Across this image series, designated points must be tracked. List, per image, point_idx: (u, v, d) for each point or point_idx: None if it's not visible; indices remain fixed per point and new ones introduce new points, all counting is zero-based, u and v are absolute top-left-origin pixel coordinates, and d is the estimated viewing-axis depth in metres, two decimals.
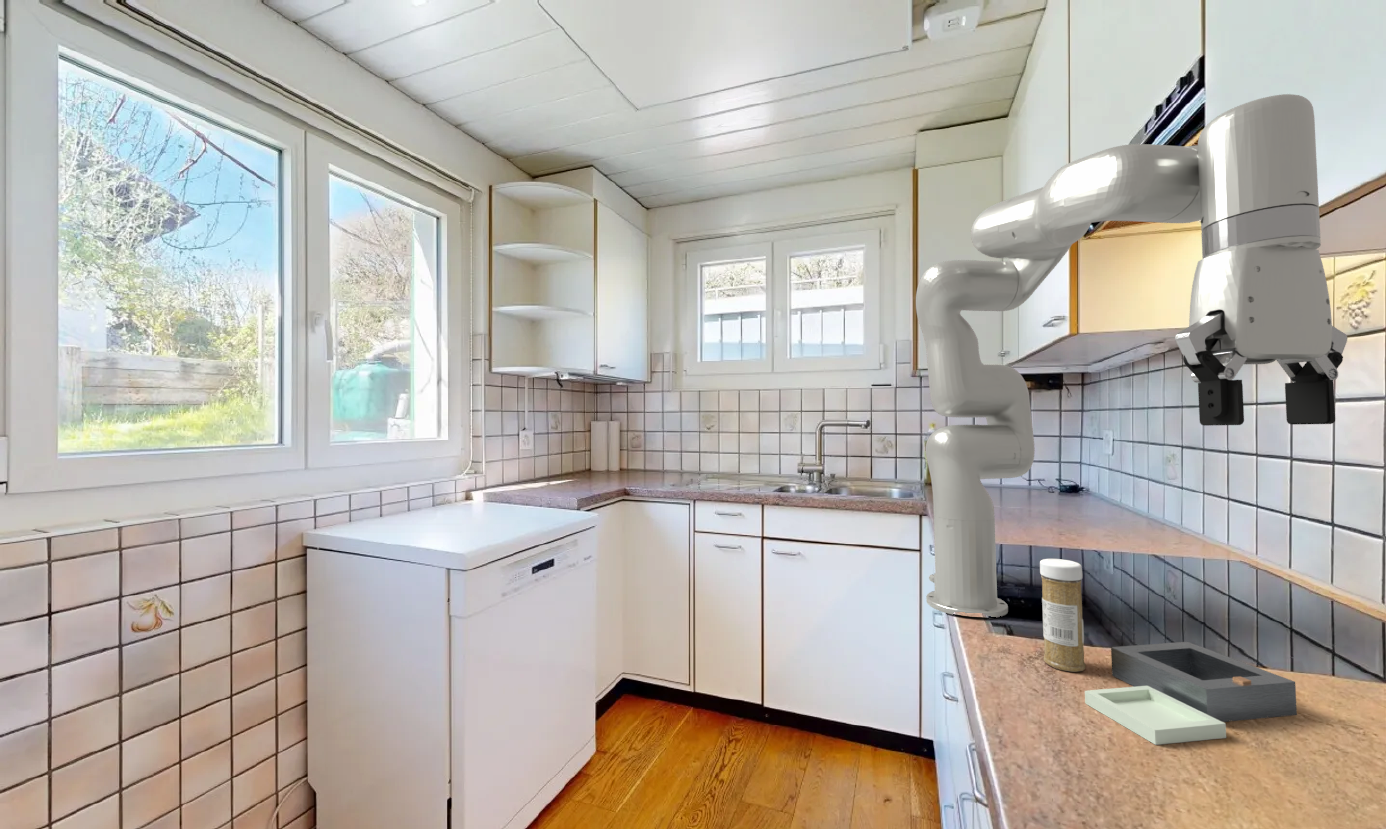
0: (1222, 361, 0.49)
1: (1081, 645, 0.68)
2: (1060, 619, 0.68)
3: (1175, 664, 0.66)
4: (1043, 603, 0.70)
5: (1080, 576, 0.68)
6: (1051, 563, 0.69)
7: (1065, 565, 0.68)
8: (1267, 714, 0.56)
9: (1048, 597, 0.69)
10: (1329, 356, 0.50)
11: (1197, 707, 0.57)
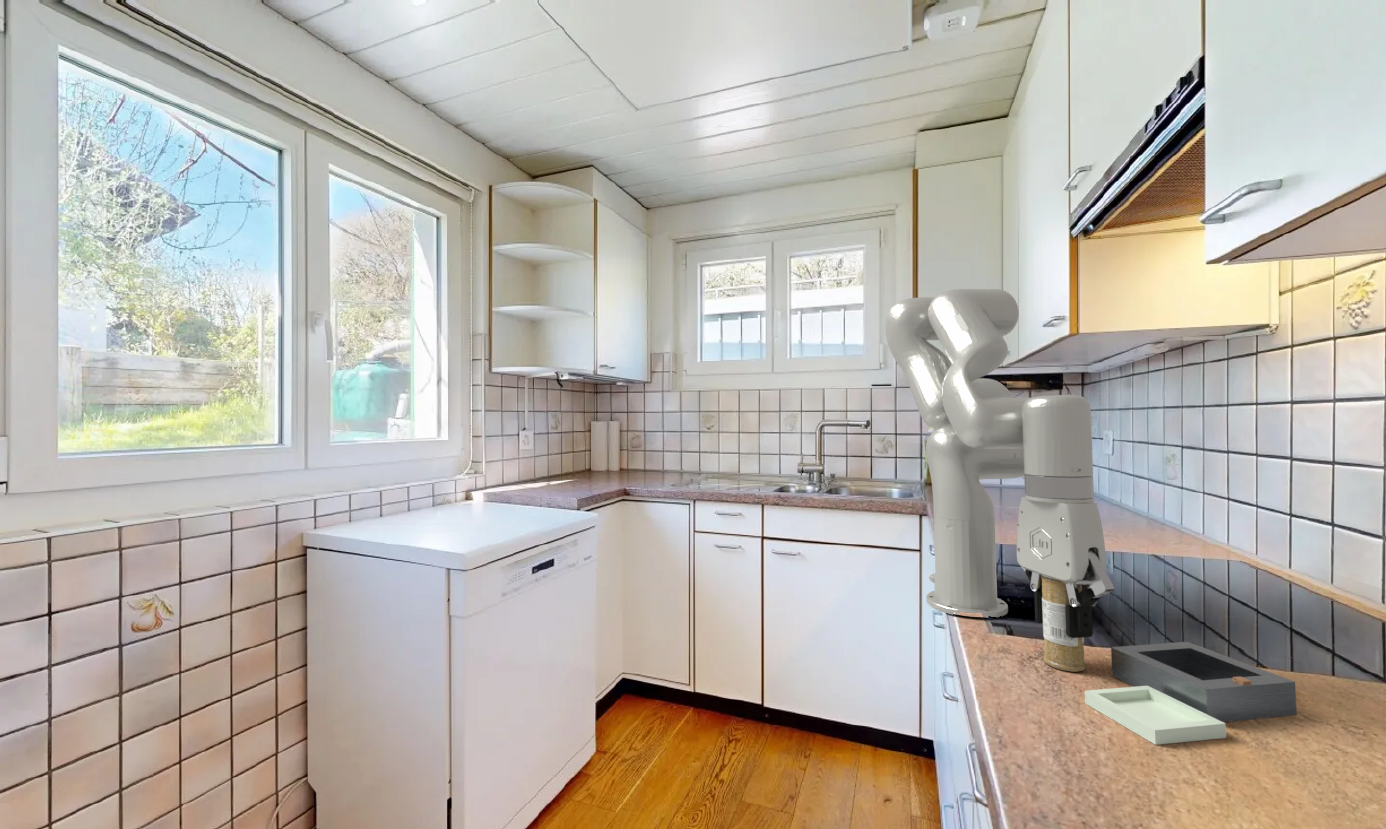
0: None
1: (1081, 645, 0.68)
2: (1060, 619, 0.68)
3: (1175, 664, 0.66)
4: (1043, 603, 0.70)
5: None
6: None
7: None
8: (1267, 714, 0.56)
9: (1048, 597, 0.69)
10: None
11: (1197, 707, 0.57)
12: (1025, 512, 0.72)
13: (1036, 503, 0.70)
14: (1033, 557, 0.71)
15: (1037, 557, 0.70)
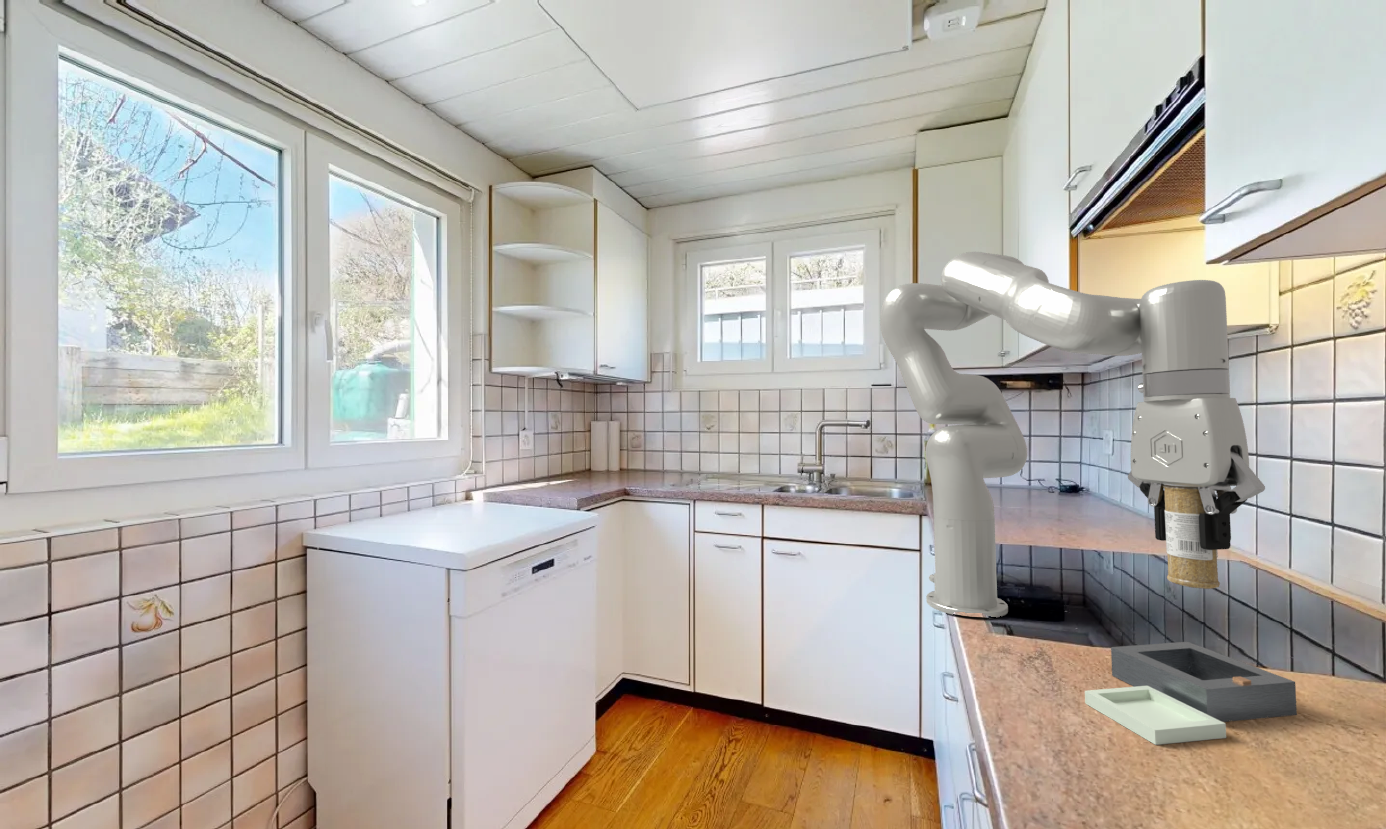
0: None
1: (1215, 559, 0.60)
2: (1191, 530, 0.61)
3: (1175, 664, 0.66)
4: (1167, 516, 0.63)
5: None
6: None
7: None
8: (1267, 714, 0.56)
9: (1175, 508, 0.62)
10: None
11: (1197, 707, 0.57)
12: (1144, 418, 0.65)
13: (1159, 404, 0.63)
14: (1156, 465, 0.63)
15: (1162, 464, 0.63)
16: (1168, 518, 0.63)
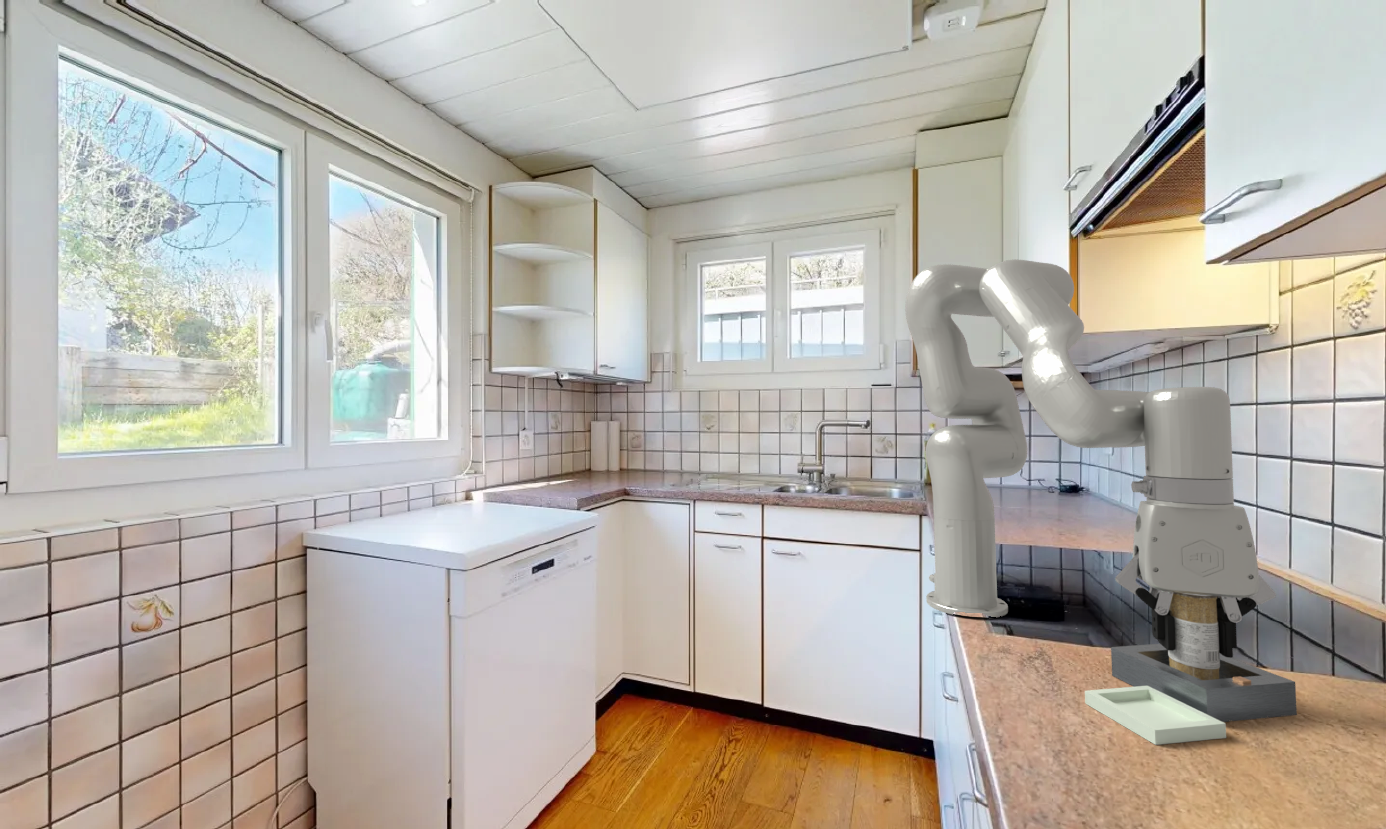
0: None
1: None
2: (1215, 640, 0.60)
3: None
4: (1191, 626, 0.61)
5: None
6: None
7: None
8: (1267, 714, 0.56)
9: (1202, 618, 0.60)
10: None
11: (1197, 707, 0.57)
12: (1169, 523, 0.61)
13: (1191, 511, 0.60)
14: (1187, 575, 0.60)
15: (1196, 575, 0.60)
16: (1193, 629, 0.60)
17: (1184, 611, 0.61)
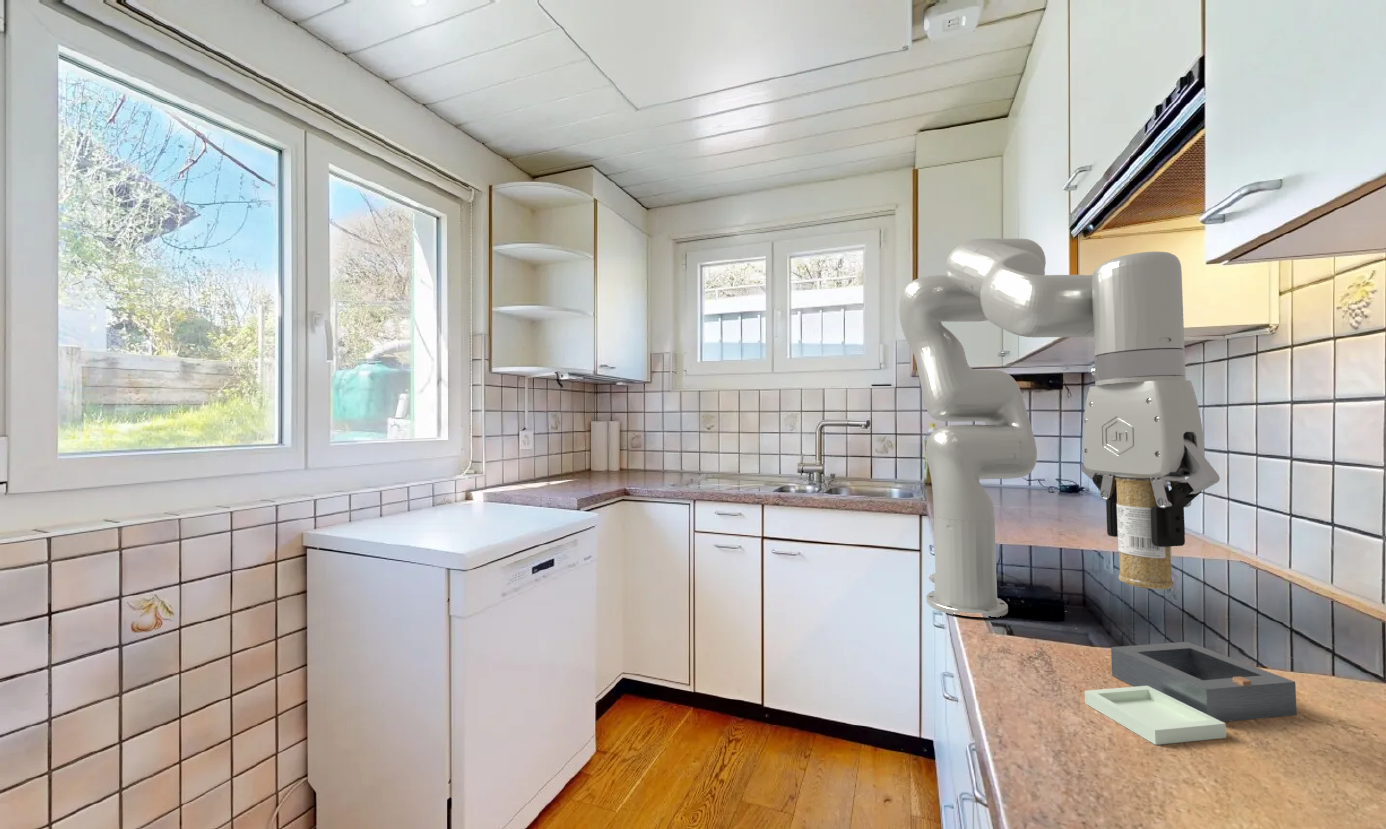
0: None
1: (1169, 557, 0.55)
2: (1142, 526, 0.56)
3: (1175, 664, 0.66)
4: (1119, 510, 0.58)
5: None
6: None
7: None
8: (1267, 714, 0.56)
9: (1126, 501, 0.57)
10: None
11: (1197, 707, 0.57)
12: (1095, 403, 0.60)
13: (1111, 388, 0.58)
14: (1107, 455, 0.58)
15: (1113, 454, 0.58)
16: (1119, 512, 0.58)
17: (1117, 494, 0.58)
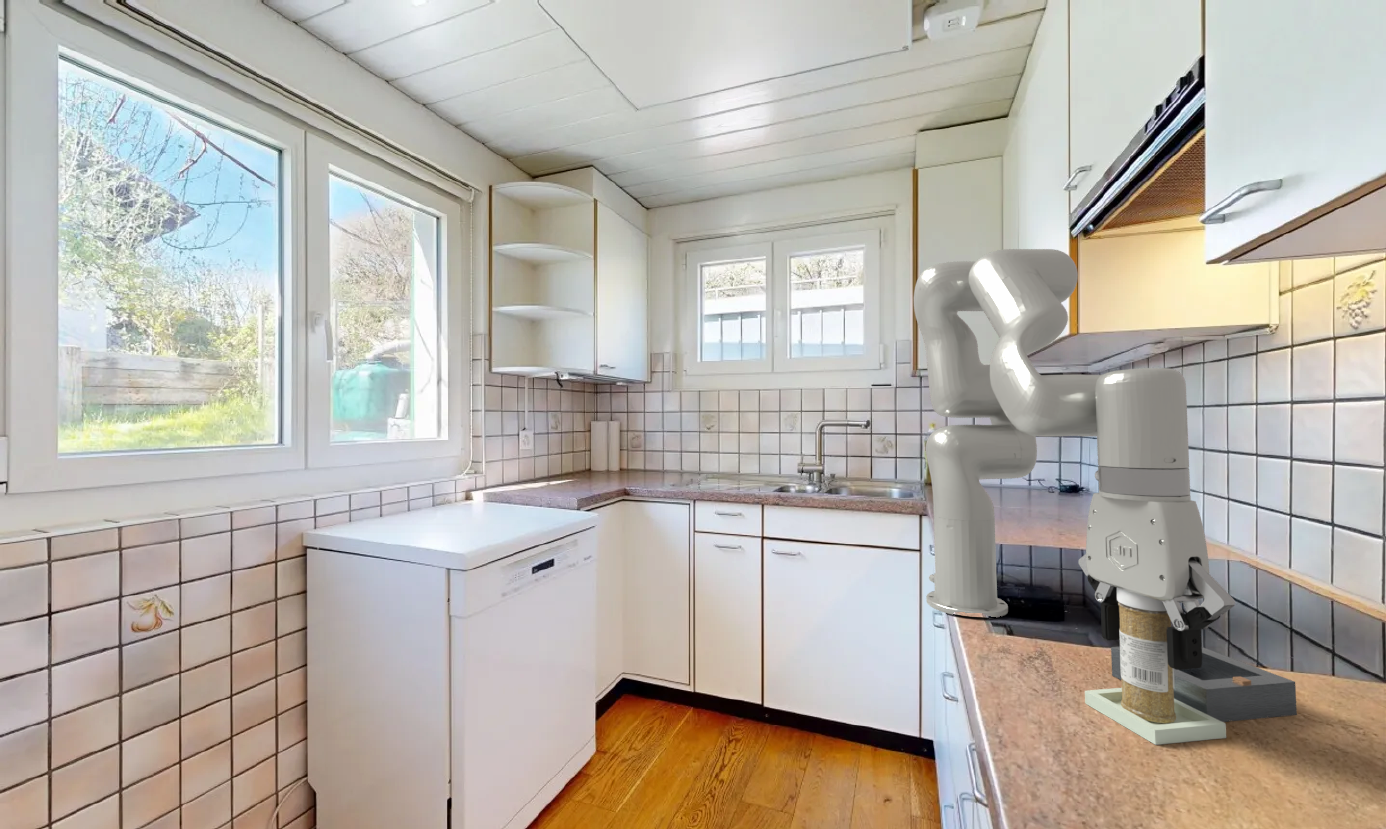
0: None
1: (1171, 690, 0.55)
2: (1145, 658, 0.55)
3: None
4: (1121, 637, 0.58)
5: None
6: None
7: None
8: (1267, 714, 0.56)
9: (1129, 630, 0.57)
10: None
11: (1197, 707, 0.57)
12: (1099, 512, 0.59)
13: (1115, 501, 0.57)
14: (1111, 567, 0.58)
15: (1117, 568, 0.57)
16: (1122, 640, 0.57)
17: (1120, 620, 0.58)
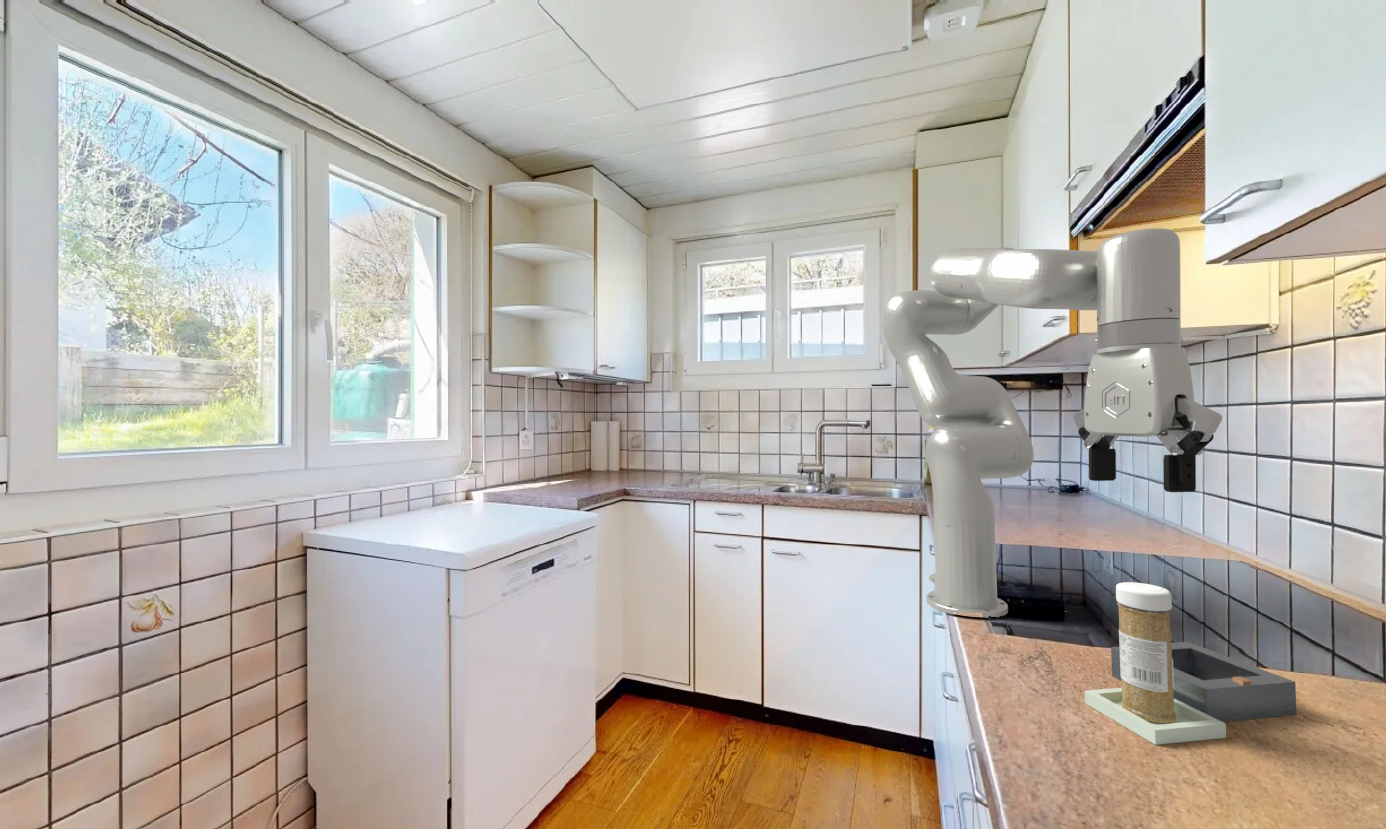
0: None
1: (1171, 690, 0.55)
2: (1144, 658, 0.55)
3: (1175, 664, 0.66)
4: (1121, 637, 0.58)
5: (1170, 605, 0.55)
6: (1132, 589, 0.57)
7: (1151, 592, 0.56)
8: (1267, 714, 0.56)
9: (1128, 630, 0.57)
10: None
11: (1197, 707, 0.57)
12: (1097, 370, 0.65)
13: (1111, 356, 0.63)
14: (1105, 417, 0.63)
15: (1111, 416, 0.63)
16: (1122, 640, 0.57)
17: (1119, 620, 0.58)
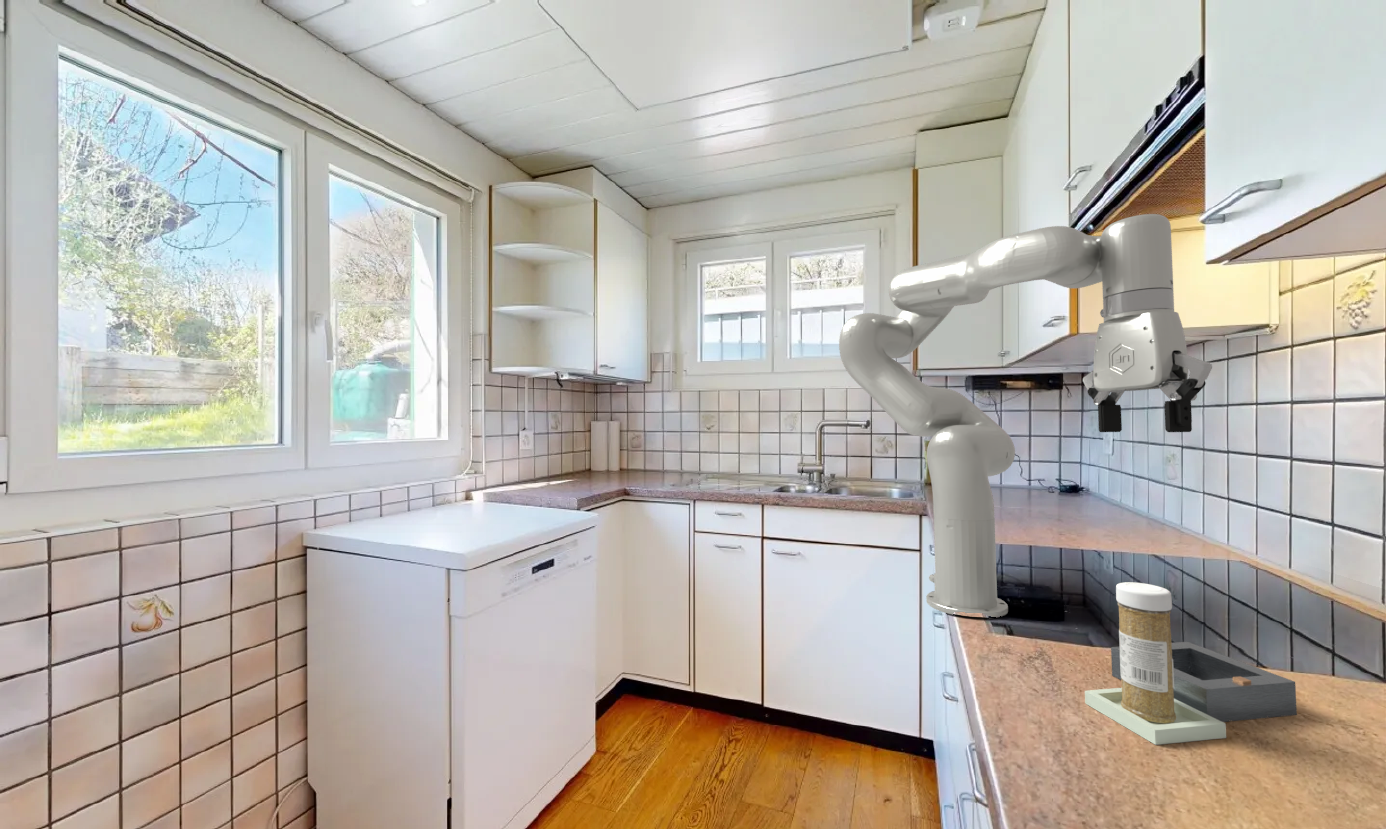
0: None
1: (1171, 690, 0.55)
2: (1144, 658, 0.55)
3: (1175, 664, 0.66)
4: (1121, 637, 0.58)
5: (1170, 605, 0.55)
6: (1132, 589, 0.57)
7: (1151, 592, 0.56)
8: (1267, 714, 0.56)
9: (1128, 630, 0.57)
10: None
11: (1197, 707, 0.57)
12: (1104, 336, 0.76)
13: (1116, 322, 0.74)
14: (1113, 375, 0.74)
15: (1117, 373, 0.74)
16: (1122, 640, 0.57)
17: (1119, 621, 0.58)
